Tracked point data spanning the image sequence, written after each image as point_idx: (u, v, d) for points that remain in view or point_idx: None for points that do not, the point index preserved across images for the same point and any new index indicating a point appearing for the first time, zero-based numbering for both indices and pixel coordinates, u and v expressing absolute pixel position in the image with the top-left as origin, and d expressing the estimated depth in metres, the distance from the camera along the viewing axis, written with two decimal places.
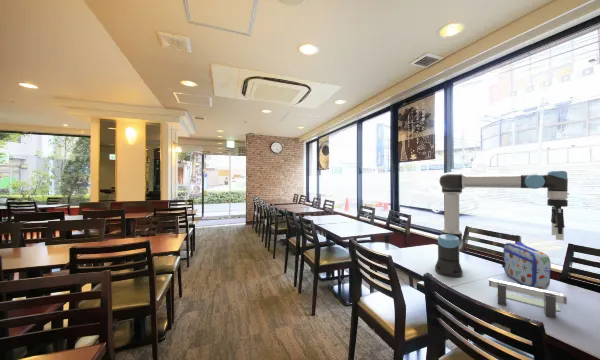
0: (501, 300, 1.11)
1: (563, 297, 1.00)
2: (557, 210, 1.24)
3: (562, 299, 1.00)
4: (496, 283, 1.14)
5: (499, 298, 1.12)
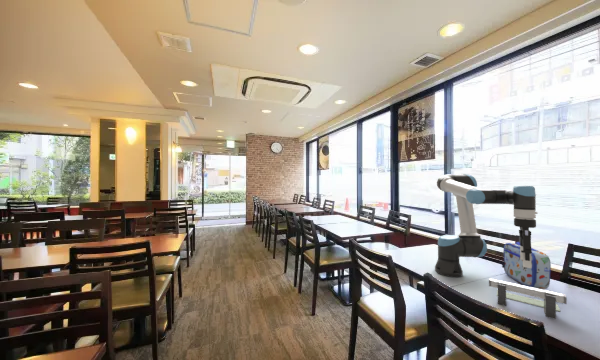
0: (501, 300, 1.11)
1: (563, 297, 1.00)
2: (524, 232, 1.05)
3: (562, 299, 1.00)
4: (496, 283, 1.14)
5: (499, 298, 1.12)
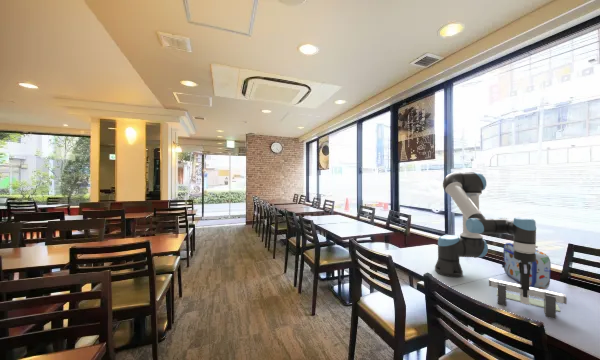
0: (501, 300, 1.11)
1: (563, 297, 1.00)
2: (523, 271, 1.04)
3: (562, 299, 1.00)
4: (496, 283, 1.14)
5: (499, 298, 1.12)
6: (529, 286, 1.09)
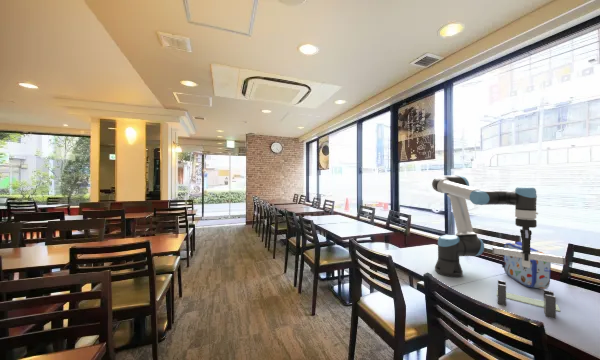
0: (501, 300, 1.11)
1: (562, 258, 1.06)
2: (524, 236, 1.11)
3: (561, 260, 1.07)
4: (499, 250, 1.21)
5: (499, 298, 1.12)
6: (530, 251, 1.16)
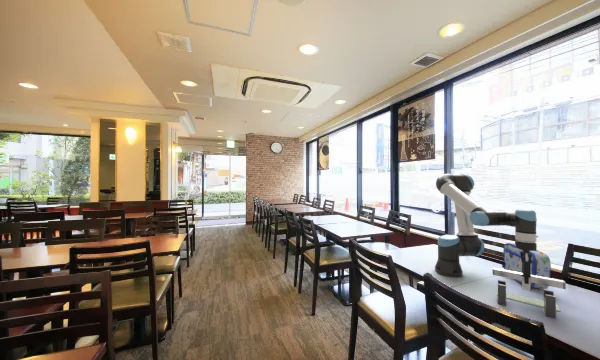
0: (501, 300, 1.11)
1: (562, 283, 1.06)
2: (524, 259, 1.11)
3: (561, 285, 1.06)
4: (499, 271, 1.21)
5: (499, 298, 1.12)
6: None
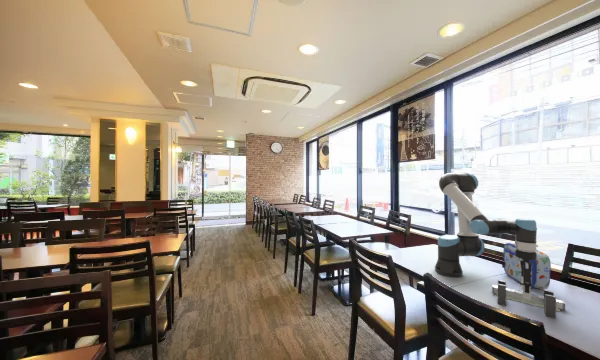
0: (501, 300, 1.11)
1: (562, 304, 1.06)
2: (524, 266, 1.11)
3: (561, 305, 1.07)
4: None
5: (499, 298, 1.12)
6: None
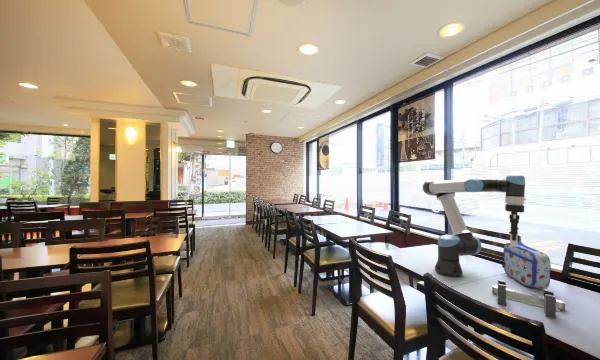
0: (501, 300, 1.11)
1: (562, 304, 1.06)
2: (512, 216, 1.20)
3: (561, 305, 1.07)
4: None
5: (499, 298, 1.12)
6: (518, 229, 1.29)
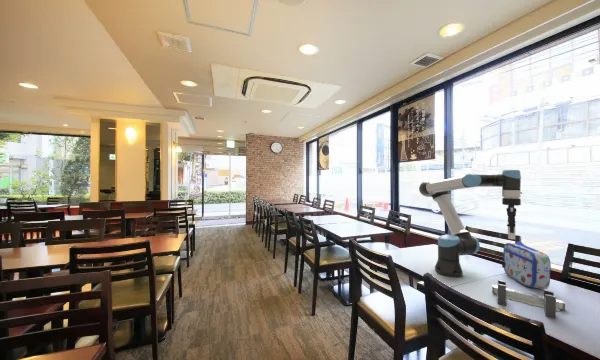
0: (501, 300, 1.11)
1: (562, 304, 1.06)
2: (509, 209, 1.23)
3: (561, 305, 1.07)
4: None
5: (499, 298, 1.12)
6: None
